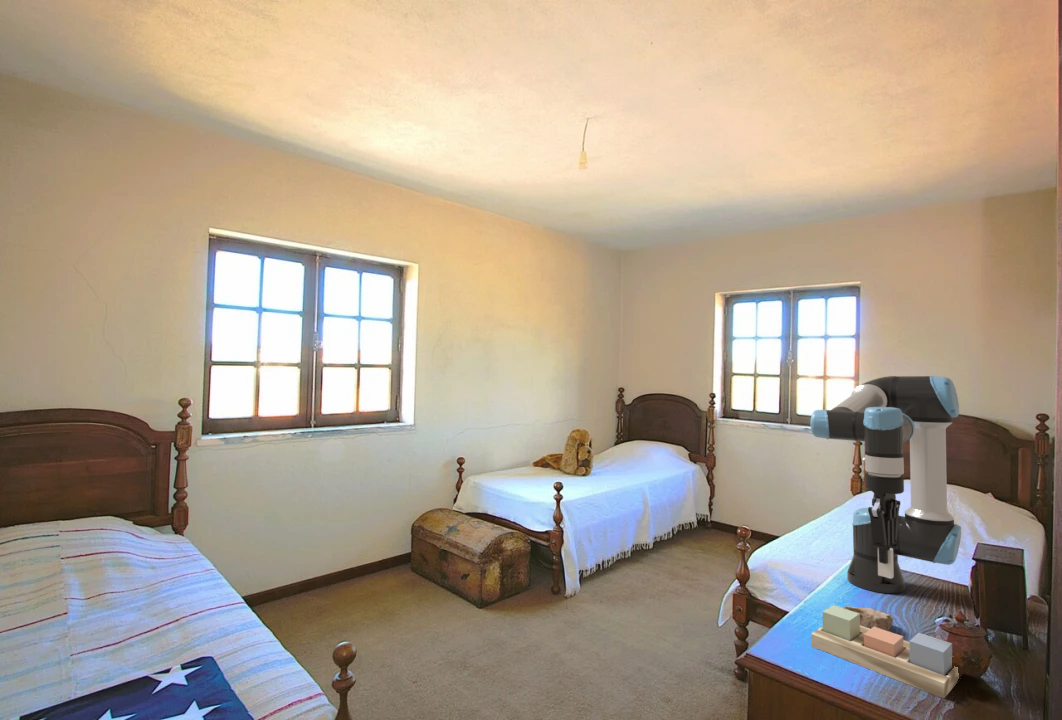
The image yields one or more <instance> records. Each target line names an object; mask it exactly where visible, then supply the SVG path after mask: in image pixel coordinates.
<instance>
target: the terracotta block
mask: <svg viewBox="0 0 1062 720" xmlns="http://www.w3.org/2000/svg"><path fill="white" fill-rule="evenodd" d="M903 640H904V636H903V635H900V634H898V633H894V632H891V631H890V630H889V631H886V630H883V629H880V628H877V627H872V628H871V629H870V630H869V631H867V632H866V633H865V634H864V647H867V648H870V649H873V650H875V651H878V652H881V653H884V654H886V655H889V656H892V657H895V658H896V657H897V656H898V655H899V654H901V653H902V652H903V651H904V648H903Z"/></svg>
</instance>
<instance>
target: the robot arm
mask: <svg viewBox="0 0 1062 720" xmlns="http://www.w3.org/2000/svg"><path fill="white" fill-rule="evenodd" d="M959 415H960V405H959V399H958V393H957V389H956V387H955V383H954V382H953V380H952V379H951V378H949V377H946V376H935V375H927V376H921V375H919V376H918V375H917V376H916V375H915V376H913V375H906V376H905V375H903V376H901V375H899V376H898V375H897V376H896V375H890V376H883V377H879V378H875V379H871V380H868V381H865V382H863V383H862V384H860V385H858V386H856V387H855V388H854V389H853V391H852V392H851V394H850V396H849V397H847V398H846V399H844V400H843V401H842V402H840V403H839V404H837V405H836V406H834V407H833V408H832V409H826V408H825V409H816V410H814V411H813V412H812V413H811V417H810V422H809V423H810V424H809V425H810V430H811V431H810V432H811V434H812V435H813V436H814V437H816V438H819V439H820V438H821V439H826V440H841V441H842V440H843V441H855V442H864V457H863V458H862V461H863V462H864V467H865V469H864V470H865V472H866V473H865V475H864V483H865V484H864V487H865V488H864V489H866V490H868V491H869V492H872V493H873V497H872V498H871V506H868V507H862V508H858V509H856V510H854V512H853V515H852V522H851V523H852V537H853V538H852V539H853V541H852V542H853V546H852V547H853V548H852V549H853V555H852V559H851V561H850V564H849V566H848V569H847V571H846V572H847V575H846V576H847V581H848V582H849V583H851V584H852V585H854V586H855V587H859V588H861V589H863V590H869V591H872V592H876V593H883V594H899V593H903V592H905V591H906V580H905V578H904V575H903V572H902V570H901V568H900V567H901V566H900V564H899V558H898V557H899V556H900V557H901V556H902V557H906V558H911V559H916V560H921V561H926V562H930V563H932V564H941V565H947V566H949V565H953V564H954V563H955V562H956V560H957V557H958V553H959V550H960V549H959V548H960V544H961V537H962V527H961V526H960V525H959V524H957V523H955V518H954V516H953V515H952V514H951V513H950V512H948V491H947V490H948V485H947V484H948V483H947V482H948V481H947V476H948V475H947V432H946V431H947V430H946V429H947V428H948V427H949V426H950V425H952V424H953V418H958V417H959ZM907 442H909V464H910V465H909V470H910V471H909V472H910V473H909V474H910V480H909V481H910V507H909V508H907V509H906V510H904V516H903V515H899V513H900V508H901V501H900V500H897V497H896V495H899V494H903V493H904V491H905V481H904V480H905V478H904V477H903V476H902V475H904V473H905V470H904V469H905V464H904V463H905V461H904V460H905V459H904V444H905V443H907Z"/></svg>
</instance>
